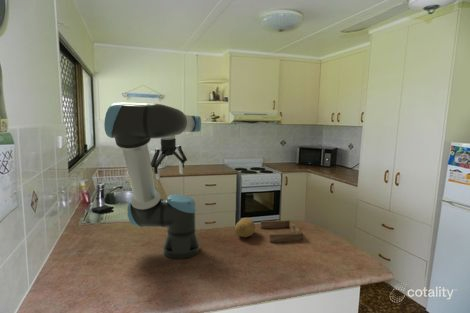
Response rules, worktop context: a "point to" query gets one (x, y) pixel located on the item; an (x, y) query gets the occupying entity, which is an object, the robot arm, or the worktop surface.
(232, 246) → the worktop surface
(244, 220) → the potato
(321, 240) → the worktop surface
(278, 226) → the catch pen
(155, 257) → the worktop surface
